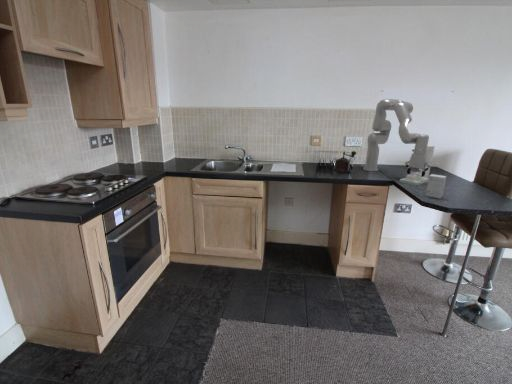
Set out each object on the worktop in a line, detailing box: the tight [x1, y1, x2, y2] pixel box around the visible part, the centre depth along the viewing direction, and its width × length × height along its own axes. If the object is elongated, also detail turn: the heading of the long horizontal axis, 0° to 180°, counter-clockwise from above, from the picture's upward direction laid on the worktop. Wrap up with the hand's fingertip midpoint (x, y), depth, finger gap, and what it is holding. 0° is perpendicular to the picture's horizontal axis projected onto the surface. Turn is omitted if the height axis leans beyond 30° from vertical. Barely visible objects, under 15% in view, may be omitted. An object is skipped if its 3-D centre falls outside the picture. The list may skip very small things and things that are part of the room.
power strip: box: [405, 171, 424, 182], centre depth 208 cm, size 5×20×4 cm, turn 130°
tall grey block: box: [418, 144, 436, 178], centre depth 218 cm, size 7×7×25 cm
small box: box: [425, 173, 448, 199], centre depth 172 cm, size 8×6×13 cm
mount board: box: [399, 168, 429, 186], centre depth 208 cm, size 12×22×8 cm, turn 130°
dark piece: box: [334, 150, 357, 173], centre depth 236 cm, size 16×11×18 cm
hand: (415, 175), depth 208 cm, fingers open, 9 cm apart
